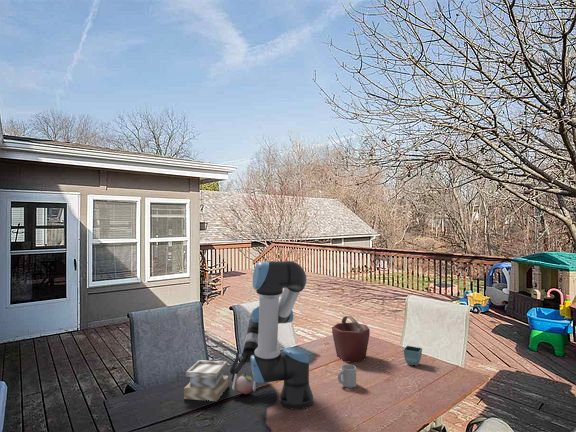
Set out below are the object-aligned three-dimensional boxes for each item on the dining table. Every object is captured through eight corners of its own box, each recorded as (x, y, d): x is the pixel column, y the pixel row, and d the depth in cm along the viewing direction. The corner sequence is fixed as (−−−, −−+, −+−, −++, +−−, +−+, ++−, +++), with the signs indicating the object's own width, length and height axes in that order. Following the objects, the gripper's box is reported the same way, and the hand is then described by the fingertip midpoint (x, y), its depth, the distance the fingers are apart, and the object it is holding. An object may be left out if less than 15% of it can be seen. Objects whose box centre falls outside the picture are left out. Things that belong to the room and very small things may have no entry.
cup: (359, 386, 172) (358, 368, 172) (342, 390, 168) (341, 371, 168) (351, 381, 178) (350, 363, 179) (334, 384, 174) (334, 366, 175)
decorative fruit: (231, 394, 164) (232, 373, 164) (245, 388, 170) (245, 368, 170) (244, 401, 157) (244, 378, 158) (258, 395, 163) (257, 373, 164)
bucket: (372, 365, 200) (372, 321, 201) (334, 365, 200) (334, 321, 201) (364, 351, 224) (363, 312, 225) (330, 351, 224) (329, 312, 226)
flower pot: (422, 363, 202) (422, 347, 203) (419, 368, 195) (419, 352, 195) (407, 360, 207) (406, 345, 207) (403, 365, 199) (403, 349, 200)
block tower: (228, 386, 173) (228, 361, 174) (217, 401, 157) (217, 373, 158) (198, 384, 175) (198, 359, 176) (184, 398, 159) (184, 372, 160)
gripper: (273, 348, 178) (267, 394, 161) (233, 346, 181) (223, 391, 164) (271, 341, 173) (265, 387, 156) (229, 339, 176) (219, 384, 159)
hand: (243, 389), depth 160 cm, fingers closed on decorative fruit, 9 cm apart
